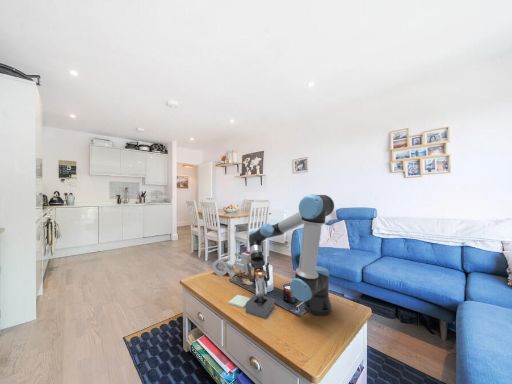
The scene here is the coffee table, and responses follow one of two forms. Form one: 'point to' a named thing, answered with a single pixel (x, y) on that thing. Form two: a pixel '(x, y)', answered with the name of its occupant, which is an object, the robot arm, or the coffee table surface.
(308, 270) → the robot arm
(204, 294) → the coffee table surface
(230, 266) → the sculpture
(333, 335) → the coffee table surface
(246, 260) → the toy
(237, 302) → the pad
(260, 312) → the eye block
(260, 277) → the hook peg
